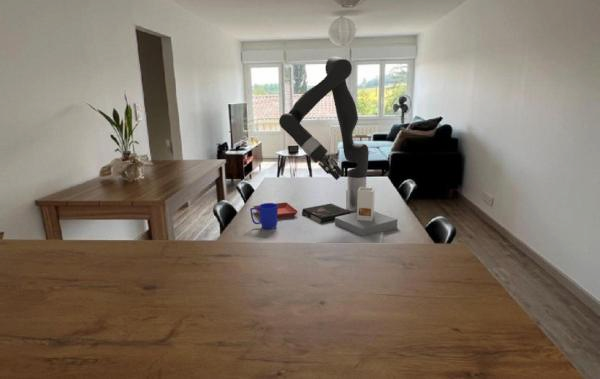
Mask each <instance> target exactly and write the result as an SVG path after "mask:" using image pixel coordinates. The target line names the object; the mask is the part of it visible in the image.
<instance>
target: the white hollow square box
mask: <svg viewBox="0 0 600 379" xmlns="http://www.w3.org/2000/svg"><path fill="white" fill-rule="evenodd" d="M360 208H369V209H371V216H363V215H360ZM374 211H375V187H367V186H366V187H360V188H359V189H358V191H357V220H364V221H372V220H373V217H374Z"/></svg>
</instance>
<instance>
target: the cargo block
mask: <svg viewBox="0 0 600 379" xmlns="http://www.w3.org/2000/svg"><path fill="white" fill-rule="evenodd" d="M360 215H363V216H371V209H369V208H360Z"/></svg>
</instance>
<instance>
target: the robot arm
mask: <svg viewBox="0 0 600 379" xmlns="http://www.w3.org/2000/svg"><path fill="white" fill-rule="evenodd" d="M352 67H353V66H352V63H351V62H350V61H349V59H346V58H344V57H340V56H334V55H333V56H331V57H329V58H328V59H327V61H326V63H325V74H326V76H325V77H324V78H323V79H322V80H321V81H319V82H318V83H317V84H316V85H314V86H312V87H311V88H309V89H308V90H307V91H305V92H304V93H303V94H302V95H301V96H300V97H299V99H297V100H296V102H295V103H294V104H293V106H292V108H291V110H289V112H288V113H283V114H282V115H281V116H280V117H279V119H278V123H279V126H280V128H282V130H284V131H285V133H286V134H288V135H289V136H290V137H291V138H292V139H293V140H294V141H295V143H296V144H297V145H298V146H299V147H300V148H301V149H302V150H303V152H304V153H305V154H306V155H307V156H308V157H309V158H310V159H311V161H313V162H314V163H315V164H316V163H318V166H319V167H320V168H321V169H322V170H323V171H324V172H325V173H326V174H327V175H328V174H329V175H330V176H332V177H333V178H334V179H335V180H336V181H338V179H340V178H341V176H343V174H344V171H343V170H342V169H341V168H340V167H339V163H338V162H337V161H336V160H335V159H334V158H332V156H331V155H330V154H328V155H326V154H327V153H328V151H329V150H328V149H327V148H326V147H324V146H323V144H322V143H321V142H320V141H319V140H318V139H317V138H316V137H314V136H313V135H312V134H311V132H309V131H308V130H307V129H306V128H304V126H302V123H301V122H302V121H303V120H304V118H305V117H306V116H307V115H308V114H309V113H310V112H311V111H312V110H313V109H314V108H315V107H316V106H317V105H318V103H319V102H320V101H321V100H323V98H324V97H326V96H327V95H328V94H329V93H330V92H332V98H333V102H334V106H335V113H336V117H337V121H338V125H339V128H340V134H341V139H342V140H341V141H342V148H343V155H344V158H345V160H346V161H347V162H349V163H357V164H356V167H355V168H350V169H348V171H347V190H346V191H345V193H346V194H345V198H346V199H345V208H346V210H348V211H350V212H352V213H355V212H357V191H358V189H359V188H360V187H366V188H367V173H368V166H369V156H370V155H369V153H370V152H369V146H368V145H367V144H364V143H355V142H354V139H353V133H354V130H355V128H356V126H357V124H358V120H359V115H358V110H357V105H356V102H355V99H354V97H353V96H352V94H351V92H350V90H349V88H348V84H347V81H346V80H347V79H349V77H350V75H351V74H352V70H353V68H352Z"/></svg>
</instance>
